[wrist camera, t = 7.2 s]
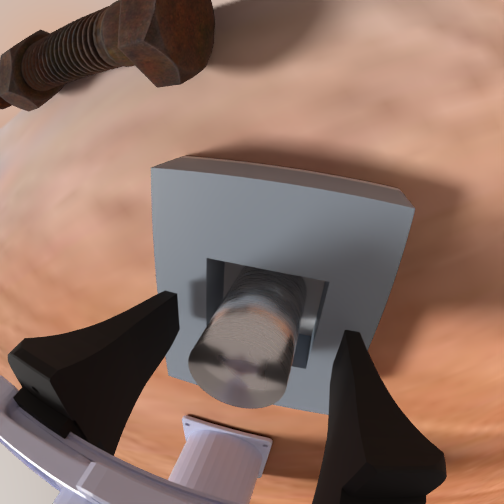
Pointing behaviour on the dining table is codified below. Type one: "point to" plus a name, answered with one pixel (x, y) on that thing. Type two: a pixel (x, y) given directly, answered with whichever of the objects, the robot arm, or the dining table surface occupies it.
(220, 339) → the pin
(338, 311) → the hole block
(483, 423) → the dining table surface
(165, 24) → the bolt
